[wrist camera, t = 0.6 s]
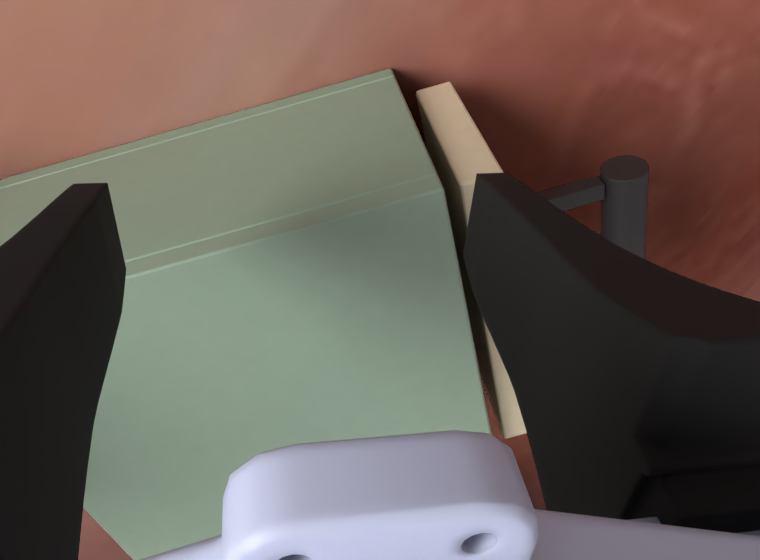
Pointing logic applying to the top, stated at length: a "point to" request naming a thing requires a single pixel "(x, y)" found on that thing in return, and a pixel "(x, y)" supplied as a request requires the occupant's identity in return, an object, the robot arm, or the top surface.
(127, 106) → the top surface
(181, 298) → the cabinet
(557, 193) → the drawer
